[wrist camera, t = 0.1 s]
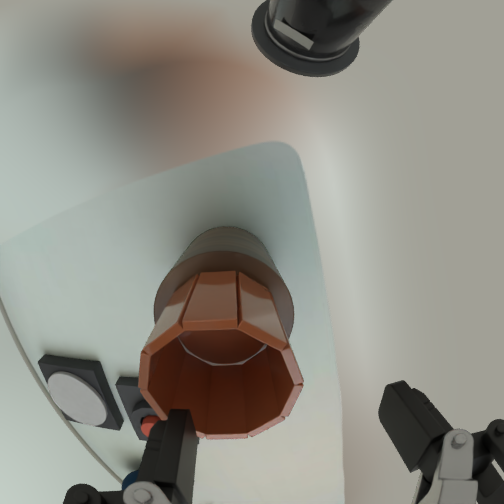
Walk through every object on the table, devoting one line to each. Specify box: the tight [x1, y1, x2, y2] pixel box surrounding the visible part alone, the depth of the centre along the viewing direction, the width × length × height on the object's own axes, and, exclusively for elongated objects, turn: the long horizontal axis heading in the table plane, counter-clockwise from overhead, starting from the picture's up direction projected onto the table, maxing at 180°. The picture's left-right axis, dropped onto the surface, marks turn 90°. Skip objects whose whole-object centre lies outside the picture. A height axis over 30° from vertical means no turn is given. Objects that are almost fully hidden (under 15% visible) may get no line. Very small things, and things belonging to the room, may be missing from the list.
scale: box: [38, 355, 124, 431], centre depth 26 cm, size 10×9×3 cm
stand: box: [154, 227, 294, 366], centre depth 20 cm, size 8×8×10 cm
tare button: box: [141, 415, 166, 437], centre depth 25 cm, size 3×3×1 cm
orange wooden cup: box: [138, 271, 304, 439], centre depth 12 cm, size 6×6×6 cm
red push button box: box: [115, 377, 199, 444], centre depth 27 cm, size 10×8×3 cm
